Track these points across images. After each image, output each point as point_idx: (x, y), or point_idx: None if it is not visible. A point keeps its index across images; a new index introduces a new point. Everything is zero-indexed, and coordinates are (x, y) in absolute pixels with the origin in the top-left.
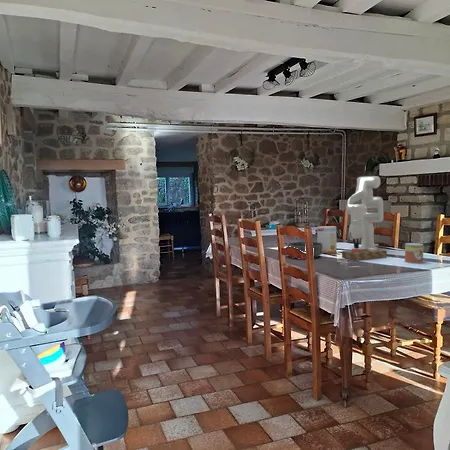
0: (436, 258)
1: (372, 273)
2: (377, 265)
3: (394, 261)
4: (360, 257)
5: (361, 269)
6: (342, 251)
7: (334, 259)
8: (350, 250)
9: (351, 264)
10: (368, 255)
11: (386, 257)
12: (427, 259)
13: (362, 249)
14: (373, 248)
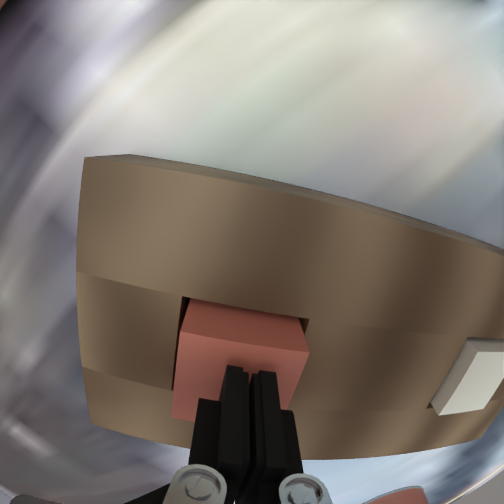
0: (491, 471)
1: None
2: None
3: (337, 492)
4: None
5: (31, 471)
6: (85, 172)
7: (10, 182)
8: (262, 213)
9: (29, 410)
10: None
11: None
12: (462, 482)
13: (473, 278)
14: (499, 377)
